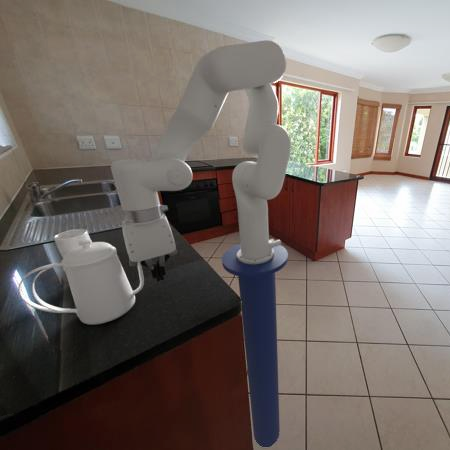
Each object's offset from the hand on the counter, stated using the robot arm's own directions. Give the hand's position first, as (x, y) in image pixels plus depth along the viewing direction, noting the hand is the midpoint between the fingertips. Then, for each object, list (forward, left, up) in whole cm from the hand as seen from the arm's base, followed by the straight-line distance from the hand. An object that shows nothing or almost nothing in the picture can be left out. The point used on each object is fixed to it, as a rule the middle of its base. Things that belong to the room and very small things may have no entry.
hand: (159, 278), depth 63 cm
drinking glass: (+16, -18, -4) cm, 24 cm away
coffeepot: (+11, 0, -4) cm, 12 cm away
